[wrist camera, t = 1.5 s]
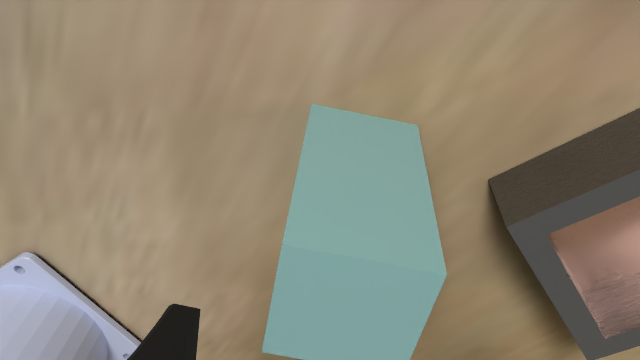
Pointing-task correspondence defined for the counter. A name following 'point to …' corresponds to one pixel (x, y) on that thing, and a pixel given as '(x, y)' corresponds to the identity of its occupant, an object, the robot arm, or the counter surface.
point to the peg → (356, 244)
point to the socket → (583, 231)
